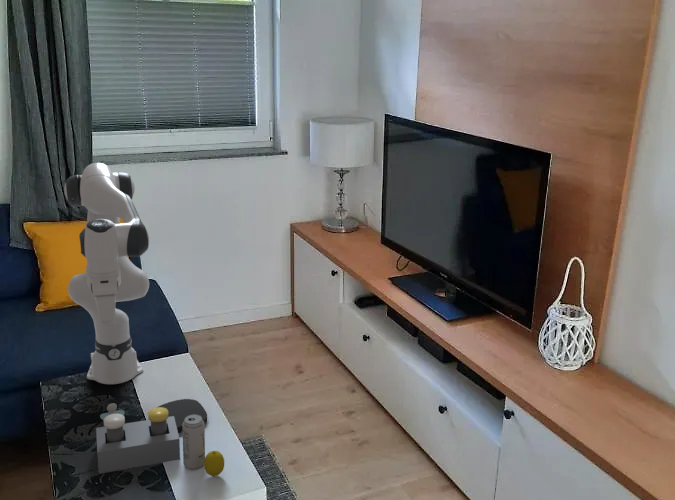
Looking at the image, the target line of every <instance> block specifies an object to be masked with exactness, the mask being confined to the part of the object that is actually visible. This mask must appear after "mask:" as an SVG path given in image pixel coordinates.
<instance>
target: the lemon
mask: <svg viewBox="0 0 675 500" xmlns="http://www.w3.org/2000/svg"><path fill="white" fill-rule="evenodd" d="M203 467H204V470H205V473H206V474H207V475H209V476H211V477H216V476H218V475H221V473H222V472H223V470H224V468H225V458H224V456H223V454H222V453H221V452H220V451H218V450H211V451H209V452H208V453H207V454H205V460H204V465H203Z"/></svg>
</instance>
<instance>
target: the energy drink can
mask: <svg viewBox="0 0 675 500" xmlns="http://www.w3.org/2000/svg"><path fill="white" fill-rule="evenodd" d="M205 425H206V424H204V421H203V420H202V417H201V416H200V415H197V414H192V415H188V416H187V417H185V419H184V422H183V424H182V430H183V432H182V454H183V455H182V456H183V459H182V461H183V465H184V467H185V468H186V469H187V470H190V471H196V470H200V469H201V468H202V467H204V460H205V457H206V441H205V439H206V437H205V436H206V435H205V432H206V430H205V427H206V426H205Z"/></svg>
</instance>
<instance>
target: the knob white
mask: <svg viewBox="0 0 675 500" xmlns="http://www.w3.org/2000/svg"><path fill="white" fill-rule="evenodd" d="M125 418H126V417H125V415H124V416H123V415H122V414H111V415H108V416H106V417H105V418H104V420H103V427H105V428H106V429H107V442H108V443H114V442H120V441H124V435H123V425H124V424H125V423H126V419H125Z"/></svg>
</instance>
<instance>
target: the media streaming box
mask: <svg viewBox="0 0 675 500" xmlns="http://www.w3.org/2000/svg"><path fill="white" fill-rule="evenodd" d="M157 407H163V408H166V409H167V410H168V417H171V416H174V418H175V422H176V426H177V431H178V434H180V433H183V430H182V424H183V422H184V419H185V417H187V416H188V415H192V414H197V415H200V416H201V417H202V420H203V421H204V424H205V425H206V424H207V423H208V412H207V411H206V409H205V408H204V407H203V405H202V404H201V402H199V401H198V400H196V399H193V398H181V399H176V400H172V401H168V402H166V403H163V404H161V405H159V406H157Z"/></svg>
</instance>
